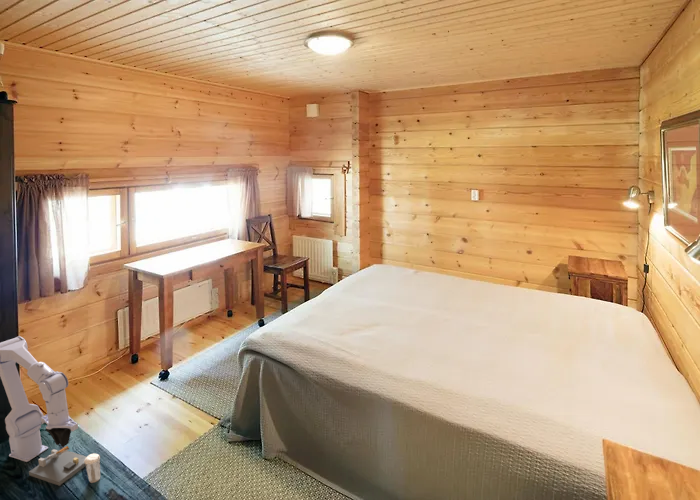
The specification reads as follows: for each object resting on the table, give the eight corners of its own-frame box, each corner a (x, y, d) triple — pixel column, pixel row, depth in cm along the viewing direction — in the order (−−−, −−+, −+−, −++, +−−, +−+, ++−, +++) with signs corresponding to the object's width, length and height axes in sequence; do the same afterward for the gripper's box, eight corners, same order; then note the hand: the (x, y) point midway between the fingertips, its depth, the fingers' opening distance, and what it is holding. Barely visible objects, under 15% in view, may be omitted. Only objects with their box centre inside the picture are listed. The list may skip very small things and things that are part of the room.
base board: (29, 475, 142) (27, 465, 141) (62, 452, 153) (61, 443, 152) (59, 485, 138) (57, 475, 137) (91, 461, 149) (90, 451, 148)
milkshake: (97, 485, 138) (93, 459, 136) (83, 483, 139) (80, 457, 137) (107, 476, 142) (104, 450, 140) (94, 473, 143) (91, 448, 141)
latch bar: (44, 461, 145) (42, 458, 145) (52, 456, 148) (50, 453, 148) (61, 454, 141) (59, 451, 141) (69, 449, 144) (67, 445, 144)
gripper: (29, 411, 138) (35, 446, 141) (61, 420, 134) (67, 456, 136) (50, 399, 144) (55, 434, 147) (81, 408, 140) (86, 443, 143)
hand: (62, 444), depth 142 cm, fingers closed
